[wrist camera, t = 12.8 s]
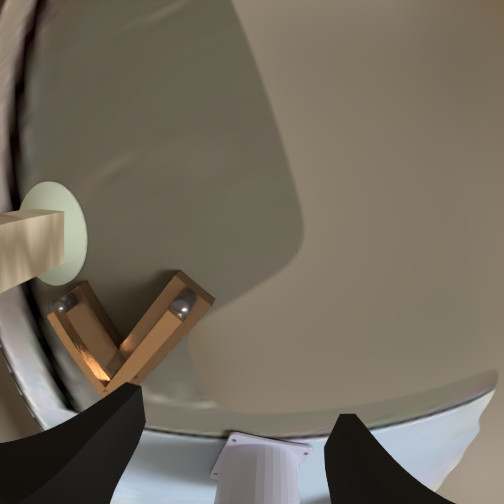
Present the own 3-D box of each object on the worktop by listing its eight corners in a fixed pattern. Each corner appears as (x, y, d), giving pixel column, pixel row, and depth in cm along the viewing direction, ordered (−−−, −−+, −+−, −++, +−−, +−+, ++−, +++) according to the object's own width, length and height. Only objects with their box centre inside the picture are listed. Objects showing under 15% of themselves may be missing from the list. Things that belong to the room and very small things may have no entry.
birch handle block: (64, 262, 19) (-8, 297, 11) (32, 255, 19) (-36, 283, 11) (64, 211, 18) (-16, 228, 10) (31, 208, 18) (-42, 223, 10)
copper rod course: (184, 403, 21) (172, 437, 17) (65, 350, 21) (41, 373, 17) (219, 283, 19) (207, 309, 15) (71, 229, 18) (35, 240, 14)
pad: (82, 299, 20) (80, 300, 19) (17, 264, 19) (15, 265, 19) (96, 194, 18) (94, 194, 17) (26, 173, 18) (24, 173, 17)
